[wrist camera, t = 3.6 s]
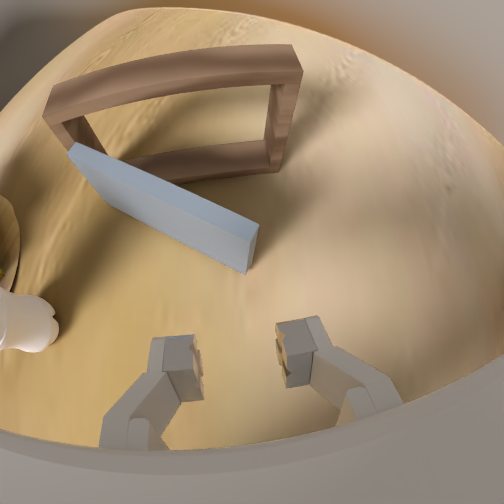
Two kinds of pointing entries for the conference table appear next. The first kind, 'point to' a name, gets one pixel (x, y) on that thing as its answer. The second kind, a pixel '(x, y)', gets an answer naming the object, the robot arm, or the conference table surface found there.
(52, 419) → the conference table surface
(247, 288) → the conference table surface
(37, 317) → the water bottle
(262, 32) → the conference table surface
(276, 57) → the brown wooden frame
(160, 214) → the door
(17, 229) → the yellow stacked packages
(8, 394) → the conference table surface
